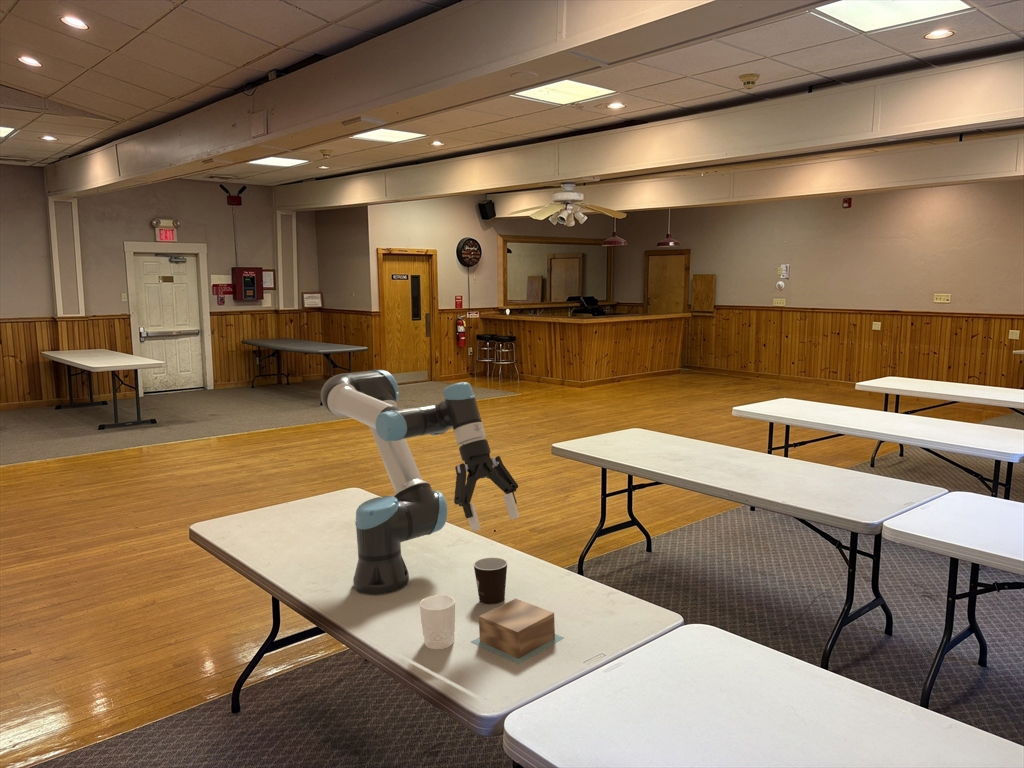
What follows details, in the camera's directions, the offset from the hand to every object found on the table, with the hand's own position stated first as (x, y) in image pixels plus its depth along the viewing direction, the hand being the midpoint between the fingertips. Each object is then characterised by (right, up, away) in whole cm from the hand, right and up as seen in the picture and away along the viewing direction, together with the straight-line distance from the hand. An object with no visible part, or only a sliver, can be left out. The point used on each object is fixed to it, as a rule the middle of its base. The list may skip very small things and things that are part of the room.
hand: (496, 524), depth 174 cm
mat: (+5, -23, -15) cm, 28 cm away
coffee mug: (-1, -21, +9) cm, 23 cm away
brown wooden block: (+5, -23, -15) cm, 28 cm away
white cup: (-13, -24, -15) cm, 31 cm away
